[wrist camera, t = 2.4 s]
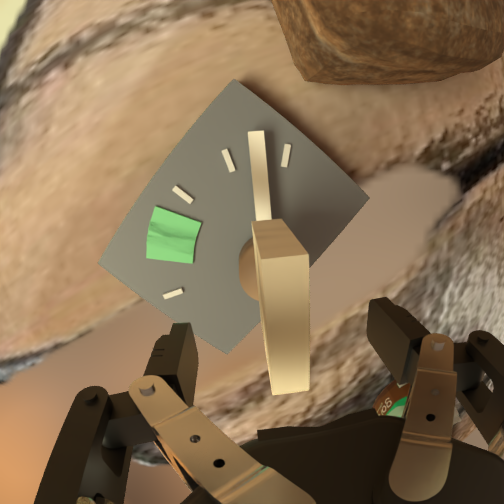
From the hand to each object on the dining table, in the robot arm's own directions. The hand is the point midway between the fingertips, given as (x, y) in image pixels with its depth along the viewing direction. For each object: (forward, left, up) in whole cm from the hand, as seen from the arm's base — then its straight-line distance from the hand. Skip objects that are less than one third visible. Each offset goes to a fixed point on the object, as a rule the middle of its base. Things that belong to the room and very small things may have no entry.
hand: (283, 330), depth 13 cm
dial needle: (-2, -2, -9) cm, 10 cm away
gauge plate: (0, -3, -11) cm, 12 cm away
